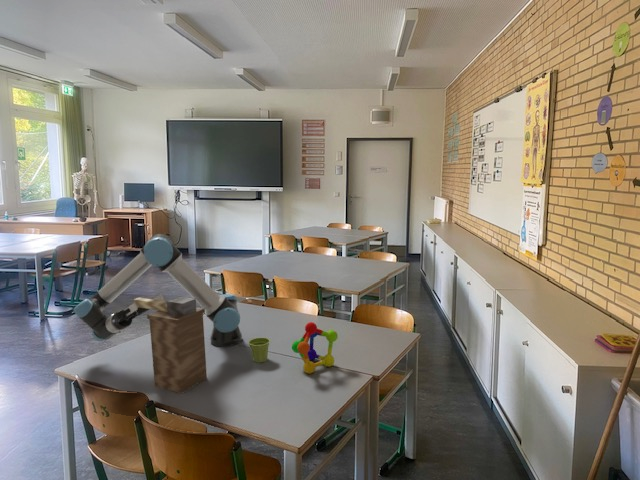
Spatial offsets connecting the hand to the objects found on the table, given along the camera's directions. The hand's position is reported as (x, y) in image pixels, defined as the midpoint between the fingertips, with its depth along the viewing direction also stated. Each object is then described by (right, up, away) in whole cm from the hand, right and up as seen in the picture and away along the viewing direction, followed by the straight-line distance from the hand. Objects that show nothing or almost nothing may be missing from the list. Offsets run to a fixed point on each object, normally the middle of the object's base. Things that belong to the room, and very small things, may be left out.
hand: (149, 301), depth 184 cm
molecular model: (+64, -29, +11) cm, 72 cm away
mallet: (+6, -3, -2) cm, 7 cm away
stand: (+13, -32, -1) cm, 34 cm away
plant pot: (+42, -28, +19) cm, 54 cm away
